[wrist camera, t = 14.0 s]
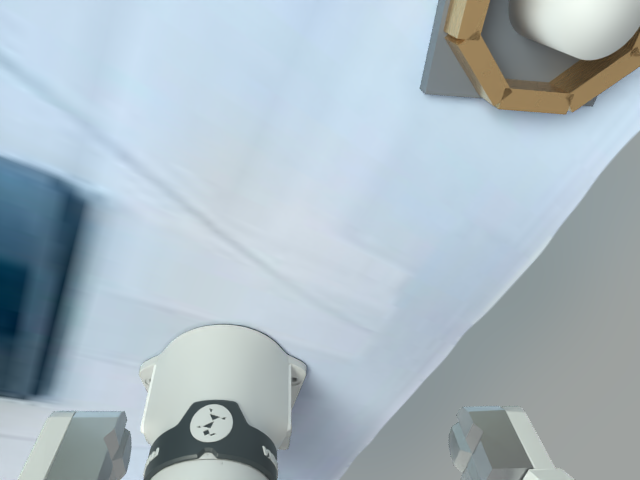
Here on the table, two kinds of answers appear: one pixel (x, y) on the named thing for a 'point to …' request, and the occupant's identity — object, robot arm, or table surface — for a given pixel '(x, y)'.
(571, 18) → the piston stand
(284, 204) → the table surface
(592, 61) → the wooden ring
